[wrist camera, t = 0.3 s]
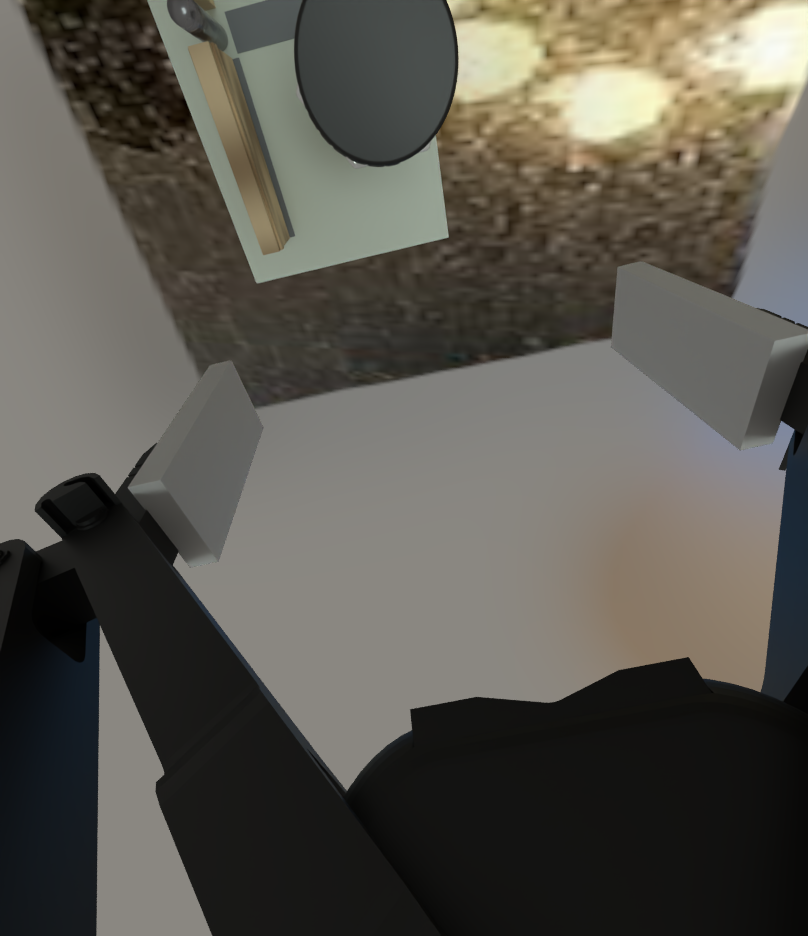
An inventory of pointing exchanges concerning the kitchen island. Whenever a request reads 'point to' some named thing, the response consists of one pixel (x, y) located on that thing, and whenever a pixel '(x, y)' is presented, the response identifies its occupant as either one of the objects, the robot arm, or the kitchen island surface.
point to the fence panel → (205, 4)
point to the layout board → (302, 153)
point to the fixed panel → (240, 144)
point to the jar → (376, 75)
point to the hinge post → (197, 22)
